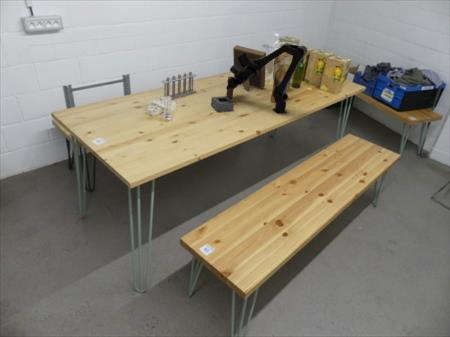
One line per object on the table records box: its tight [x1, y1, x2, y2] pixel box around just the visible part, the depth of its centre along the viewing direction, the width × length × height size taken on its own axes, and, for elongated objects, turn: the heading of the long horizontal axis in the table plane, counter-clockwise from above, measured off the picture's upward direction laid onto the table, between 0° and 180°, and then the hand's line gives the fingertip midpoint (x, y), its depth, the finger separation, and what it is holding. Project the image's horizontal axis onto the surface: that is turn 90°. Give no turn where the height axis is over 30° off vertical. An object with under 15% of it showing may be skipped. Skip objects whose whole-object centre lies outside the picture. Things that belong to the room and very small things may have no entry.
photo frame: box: [232, 45, 267, 92], centre depth 238 cm, size 15×22×25 cm
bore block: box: [210, 95, 235, 113], centre depth 209 cm, size 10×10×5 cm
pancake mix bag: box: [270, 53, 291, 104], centre depth 222 cm, size 7×19×28 cm, turn 137°
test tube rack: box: [160, 71, 197, 100], centre depth 218 cm, size 25×4×13 cm, turn 138°
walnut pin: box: [225, 75, 235, 100], centre depth 222 cm, size 4×4×13 cm
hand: (228, 87), depth 222 cm, fingers open, 5 cm apart
